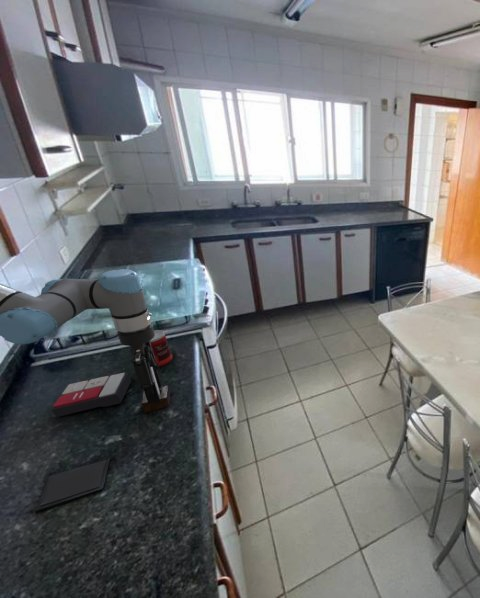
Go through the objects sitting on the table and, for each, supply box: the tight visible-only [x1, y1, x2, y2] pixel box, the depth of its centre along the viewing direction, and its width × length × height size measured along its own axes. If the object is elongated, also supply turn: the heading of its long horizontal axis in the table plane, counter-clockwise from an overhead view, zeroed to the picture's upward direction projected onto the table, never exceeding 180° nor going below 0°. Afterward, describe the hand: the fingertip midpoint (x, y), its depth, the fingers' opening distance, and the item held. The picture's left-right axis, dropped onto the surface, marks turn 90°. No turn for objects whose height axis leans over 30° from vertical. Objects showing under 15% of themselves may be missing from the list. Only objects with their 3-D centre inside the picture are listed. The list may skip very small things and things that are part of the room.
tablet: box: [34, 457, 111, 514], centre depth 75 cm, size 11×9×1 cm
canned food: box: [150, 329, 173, 368], centre depth 114 cm, size 8×8×11 cm
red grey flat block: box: [50, 372, 132, 418], centre depth 98 cm, size 11×4×15 cm
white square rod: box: [150, 367, 161, 396], centre depth 96 cm, size 2×2×13 cm
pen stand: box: [141, 385, 171, 414], centre depth 98 cm, size 6×6×4 cm
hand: (155, 394), depth 97 cm, fingers closed on pen stand, 6 cm apart
